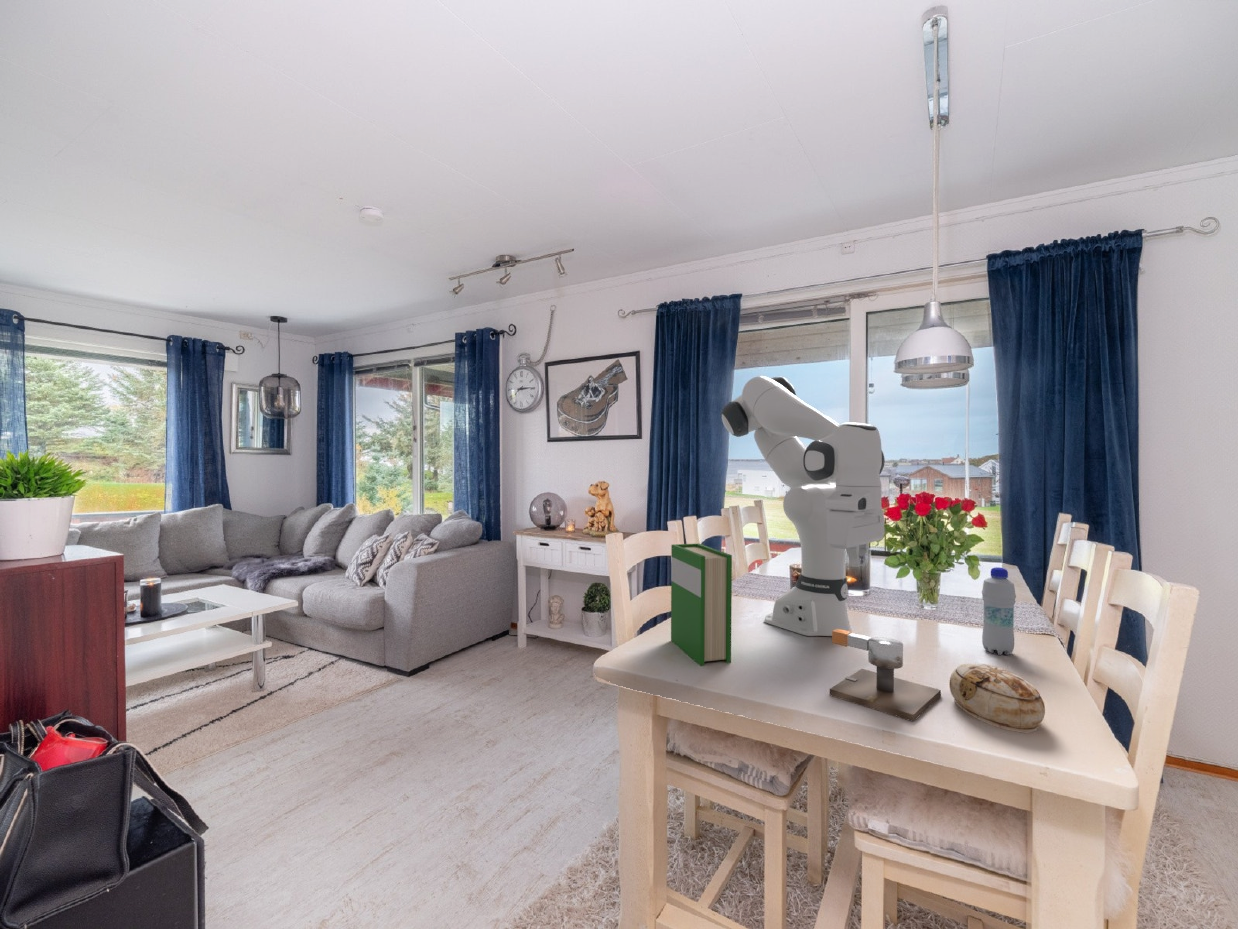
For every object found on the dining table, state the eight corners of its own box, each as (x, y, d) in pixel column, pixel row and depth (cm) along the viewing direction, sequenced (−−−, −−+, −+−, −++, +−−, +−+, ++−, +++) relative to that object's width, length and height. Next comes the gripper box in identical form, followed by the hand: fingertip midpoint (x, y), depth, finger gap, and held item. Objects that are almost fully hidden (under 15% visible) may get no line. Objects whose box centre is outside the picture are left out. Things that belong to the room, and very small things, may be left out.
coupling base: (829, 695, 108) (829, 664, 107) (861, 674, 118) (862, 646, 118) (913, 721, 97) (913, 687, 97) (940, 696, 107) (940, 665, 107)
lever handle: (907, 663, 107) (907, 641, 107) (895, 671, 103) (896, 649, 103) (841, 646, 117) (841, 626, 117) (827, 653, 112) (828, 632, 112)
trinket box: (959, 690, 110) (959, 650, 110) (1054, 716, 99) (1054, 672, 99) (935, 711, 101) (936, 667, 101) (1037, 742, 90) (1038, 693, 90)
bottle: (1011, 649, 134) (1012, 566, 134) (1018, 658, 128) (1019, 571, 128) (978, 645, 137) (979, 563, 136) (983, 654, 131) (984, 568, 130)
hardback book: (731, 662, 124) (731, 555, 124) (700, 666, 122) (701, 556, 122) (698, 638, 141) (698, 543, 141) (670, 640, 139) (671, 544, 139)
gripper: (863, 496, 126) (862, 557, 127) (821, 501, 112) (820, 570, 112) (892, 498, 122) (892, 561, 122) (852, 503, 108) (851, 574, 108)
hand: (857, 565), depth 117 cm, fingers closed
